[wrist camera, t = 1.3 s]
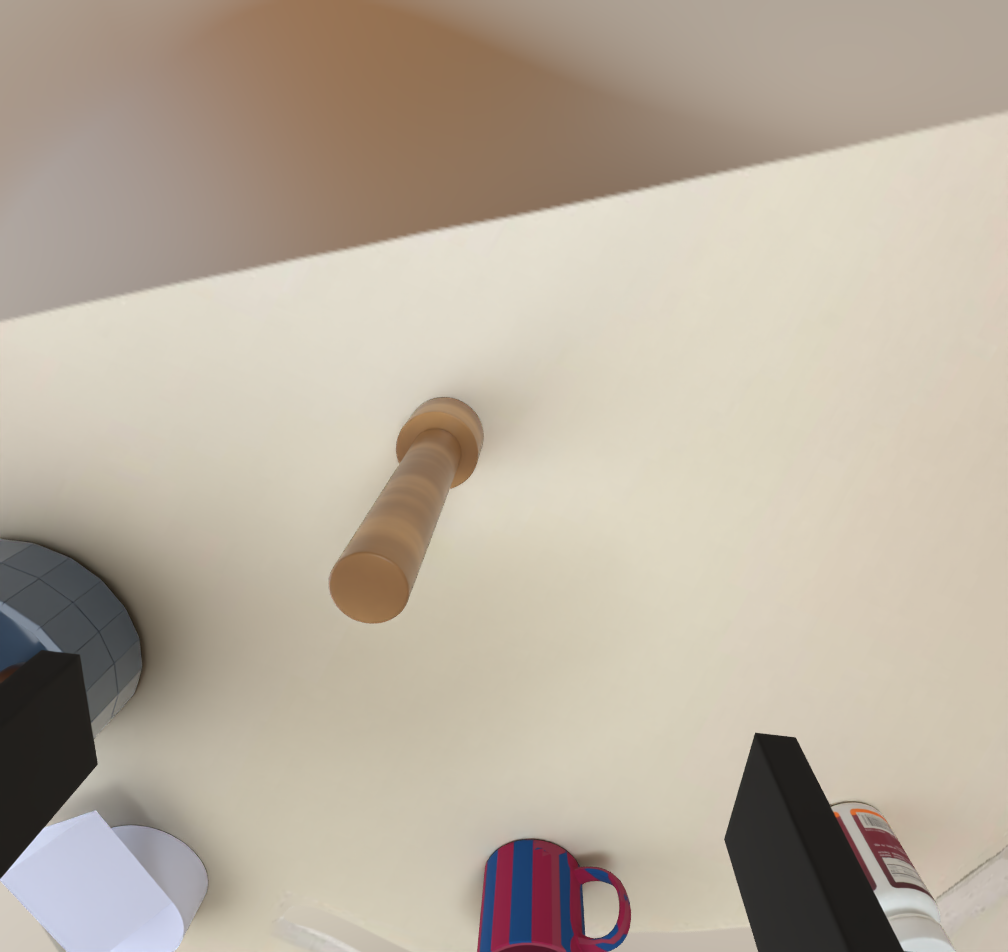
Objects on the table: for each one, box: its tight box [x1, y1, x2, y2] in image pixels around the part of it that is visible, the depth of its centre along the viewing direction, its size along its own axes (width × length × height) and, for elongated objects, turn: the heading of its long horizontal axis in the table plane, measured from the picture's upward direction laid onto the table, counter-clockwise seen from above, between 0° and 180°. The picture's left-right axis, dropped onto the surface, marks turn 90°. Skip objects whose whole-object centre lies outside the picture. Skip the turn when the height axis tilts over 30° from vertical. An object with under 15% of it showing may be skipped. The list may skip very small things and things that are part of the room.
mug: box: [477, 840, 631, 952], centre depth 41 cm, size 7×10×7 cm
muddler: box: [329, 397, 483, 623], centre depth 26 cm, size 4×4×16 cm
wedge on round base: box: [0, 810, 208, 952], centre depth 43 cm, size 9×7×13 cm
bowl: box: [0, 539, 142, 739], centre depth 37 cm, size 13×13×6 cm
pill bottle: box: [831, 802, 956, 952], centre depth 38 cm, size 5×5×8 cm
